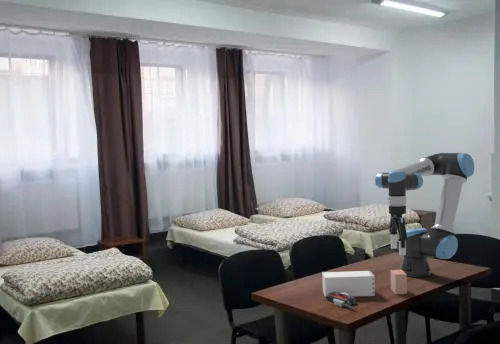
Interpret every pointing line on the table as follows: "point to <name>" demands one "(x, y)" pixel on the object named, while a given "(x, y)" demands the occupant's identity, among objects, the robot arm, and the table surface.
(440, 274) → the table surface
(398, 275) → the peach rectangular block
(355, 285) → the block
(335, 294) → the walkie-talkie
